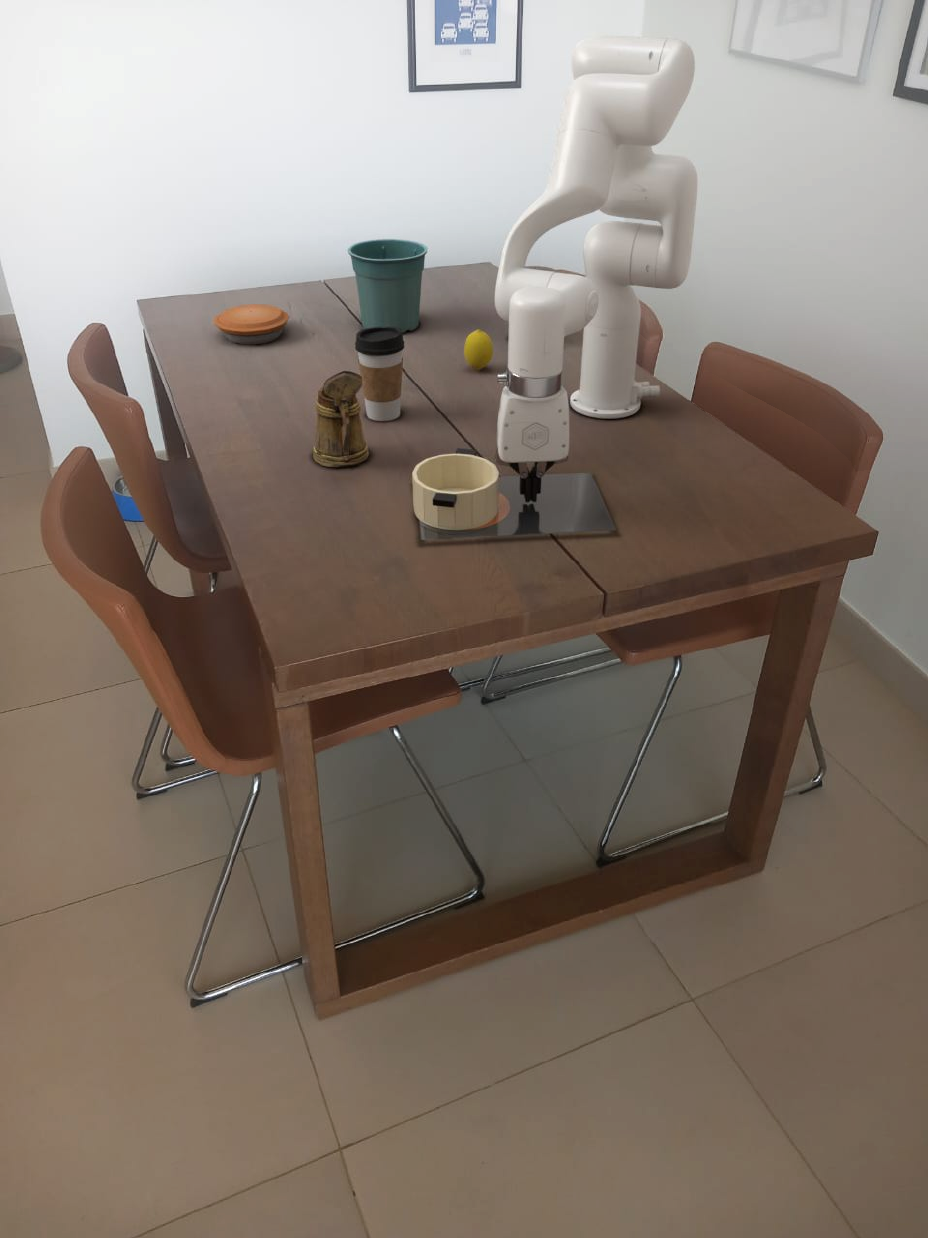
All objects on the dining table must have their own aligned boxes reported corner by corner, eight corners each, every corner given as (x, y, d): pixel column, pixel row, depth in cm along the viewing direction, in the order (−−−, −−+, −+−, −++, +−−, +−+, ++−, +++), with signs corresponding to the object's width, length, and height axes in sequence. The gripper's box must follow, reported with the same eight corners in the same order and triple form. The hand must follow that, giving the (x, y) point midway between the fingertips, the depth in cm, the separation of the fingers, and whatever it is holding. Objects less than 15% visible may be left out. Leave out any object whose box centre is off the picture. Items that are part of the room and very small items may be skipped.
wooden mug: (324, 484, 156) (313, 374, 145) (309, 447, 166) (298, 342, 156) (379, 476, 158) (373, 367, 147) (361, 440, 168) (354, 336, 158)
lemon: (459, 372, 193) (459, 332, 188) (470, 363, 197) (470, 323, 192) (486, 377, 191) (486, 336, 186) (496, 366, 195) (497, 326, 190)
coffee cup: (400, 426, 173) (396, 341, 164) (353, 422, 174) (347, 338, 166) (412, 406, 180) (409, 324, 171) (367, 403, 181) (362, 321, 172)
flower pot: (385, 307, 224) (382, 233, 214) (444, 322, 216) (443, 245, 207) (337, 328, 213) (331, 251, 204) (396, 344, 205) (393, 264, 196)
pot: (506, 487, 153) (507, 451, 150) (486, 541, 140) (487, 504, 137) (428, 479, 155) (427, 444, 152) (401, 532, 142) (399, 495, 139)
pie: (306, 330, 212) (303, 307, 209) (256, 353, 201) (253, 329, 198) (251, 317, 219) (248, 295, 216) (200, 339, 208) (197, 315, 205)
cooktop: (590, 476, 158) (591, 471, 157) (615, 534, 143) (616, 529, 143) (414, 484, 156) (414, 480, 155) (421, 544, 141) (421, 539, 141)
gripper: (483, 393, 134) (482, 512, 145) (592, 389, 135) (583, 507, 146) (478, 372, 140) (477, 487, 151) (582, 368, 141) (574, 483, 152)
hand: (529, 497), depth 149 cm, fingers closed
